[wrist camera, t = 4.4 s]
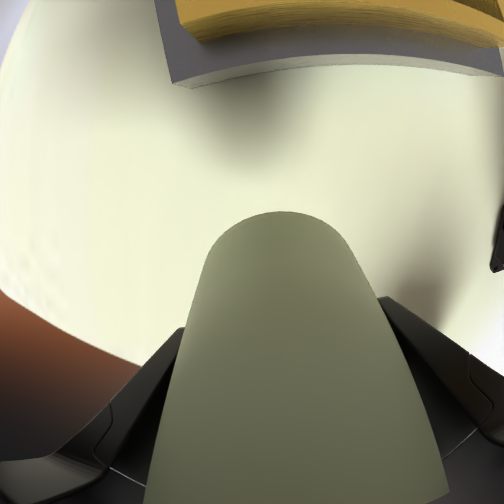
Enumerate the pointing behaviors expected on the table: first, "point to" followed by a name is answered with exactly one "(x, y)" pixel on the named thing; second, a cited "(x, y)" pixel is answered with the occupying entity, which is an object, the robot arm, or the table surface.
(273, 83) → the table surface
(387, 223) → the table surface
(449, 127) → the table surface
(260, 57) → the gold frame
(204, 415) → the spout can
